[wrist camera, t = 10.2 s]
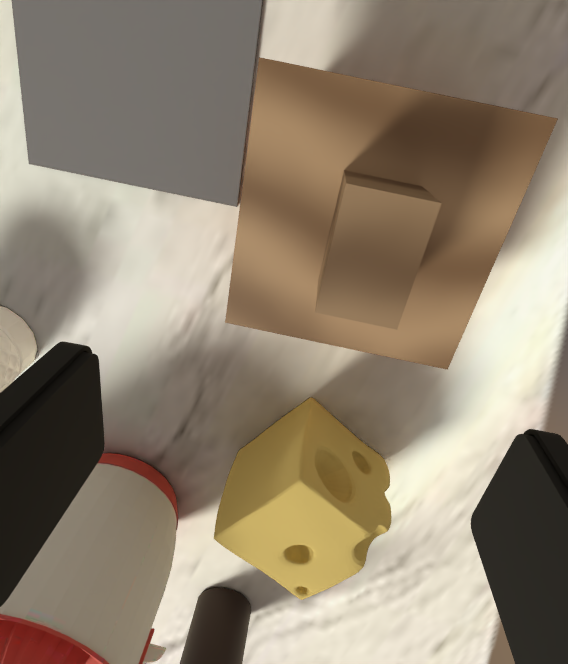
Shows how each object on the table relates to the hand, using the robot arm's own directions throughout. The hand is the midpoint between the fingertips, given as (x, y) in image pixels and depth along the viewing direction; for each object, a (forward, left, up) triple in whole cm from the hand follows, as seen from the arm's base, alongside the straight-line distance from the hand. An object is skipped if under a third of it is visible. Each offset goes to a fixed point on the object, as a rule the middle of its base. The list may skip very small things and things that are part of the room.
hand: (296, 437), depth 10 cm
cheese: (+22, +4, -23) cm, 32 cm away
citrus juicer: (+33, -13, -23) cm, 42 cm away
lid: (-1, +2, -17) cm, 17 cm away
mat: (-7, -13, -23) cm, 27 cm away
